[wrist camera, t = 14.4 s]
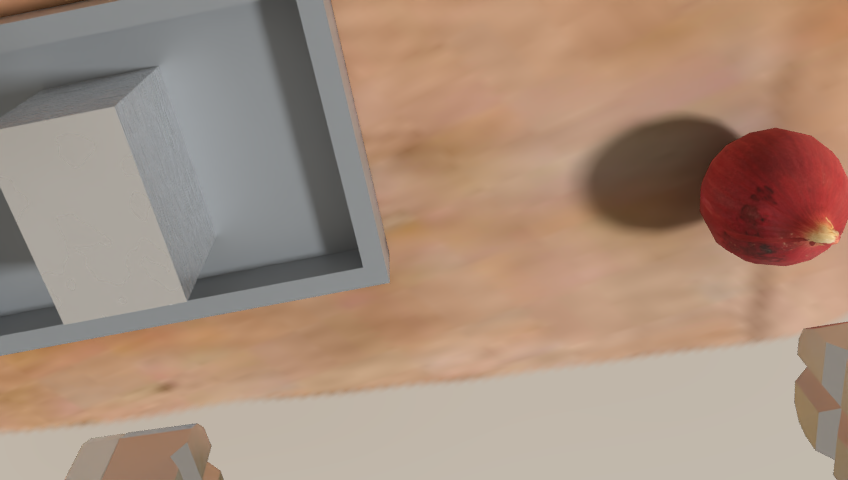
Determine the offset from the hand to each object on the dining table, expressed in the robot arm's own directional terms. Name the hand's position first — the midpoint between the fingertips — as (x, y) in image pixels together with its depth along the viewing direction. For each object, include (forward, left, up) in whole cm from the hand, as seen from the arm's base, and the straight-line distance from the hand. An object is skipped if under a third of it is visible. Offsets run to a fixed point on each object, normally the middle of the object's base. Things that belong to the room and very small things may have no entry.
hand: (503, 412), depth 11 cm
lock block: (+3, -13, -24) cm, 28 cm away
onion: (+9, +14, -26) cm, 30 cm away
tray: (+3, -13, -25) cm, 29 cm away
